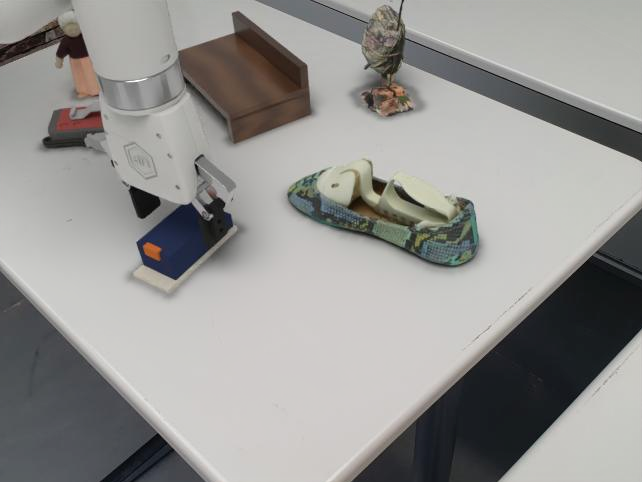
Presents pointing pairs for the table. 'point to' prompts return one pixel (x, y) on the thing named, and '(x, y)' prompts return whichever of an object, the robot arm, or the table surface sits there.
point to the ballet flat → (391, 210)
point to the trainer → (175, 248)
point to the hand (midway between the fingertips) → (182, 225)
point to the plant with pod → (385, 60)
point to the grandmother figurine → (76, 56)
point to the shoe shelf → (249, 79)
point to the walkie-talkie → (76, 127)
